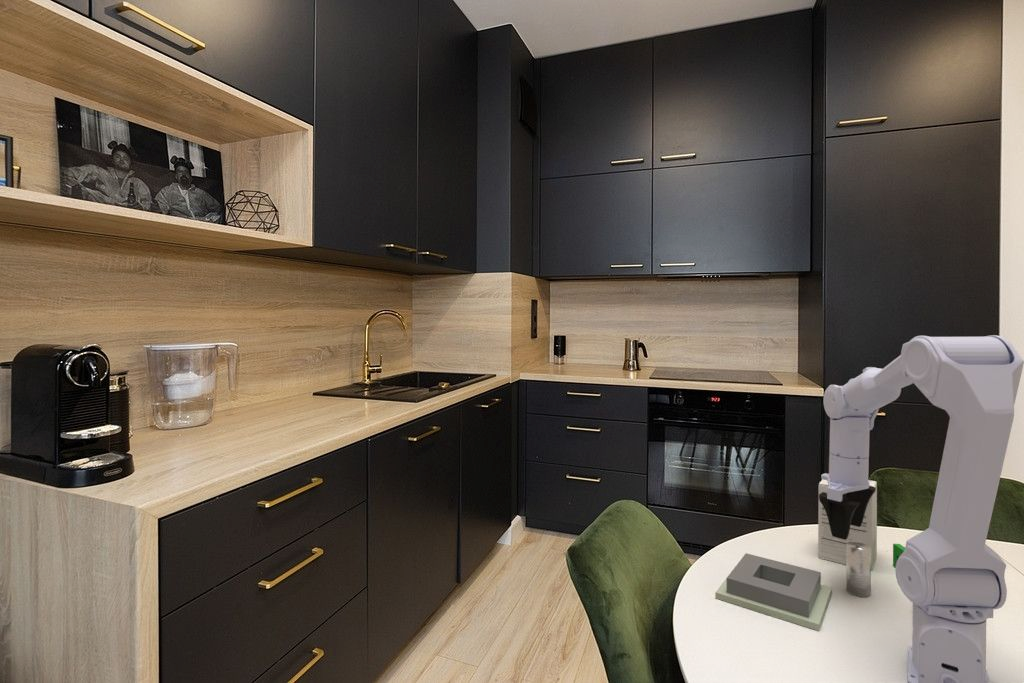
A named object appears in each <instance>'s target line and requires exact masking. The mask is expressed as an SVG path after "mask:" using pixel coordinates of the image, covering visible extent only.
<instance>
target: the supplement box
mask: <svg viewBox="0 0 1024 683" xmlns="http://www.w3.org/2000/svg"><path fill="white" fill-rule="evenodd" d="M868 480H869V479H868ZM869 483H870V486H873V487H875V488H876V491H875V492H874V494H873V495H872V497H871V498H870V500H869V503H868V505H867V508H866V511H865V515H864V518H863V522H862V524H861V526H860V527H857V526H853V525H851V526H850V531H849V535H848V538H847V539H846V540H844V539H840V538H837V537H833V536H832V533H831V530H830V525H829V521H828V517H827V514H826V511H825V509H824V507H823V505H822V503H821V502H820V500H819V499H818V513H817V514H818V515H817V516H818V520H817V521H818V522H817V524H818V528H817V529H818V532H817V534H818V539H817V540H818V541H817V542H818V544H817V545H818V548H817V550H818V553H817V554H818V557H817V558H818V559H821V560H822V559H823V560H826V561H828V562H833V563H838V564H842V565H845V566H846V543H847V542H858V543H863V544H866V545H868V546H870V547H871V572H872V571H873V569H874V565H875V562H876V559H877V555H878V548H877V547H878V542H877V541H878V540H877V539H878V536H877V534H878V529H877V528H878V525H877V524H878V521H877V520H878V503H877V501H878V484H877V483H878V482H877V481H875V480H869ZM828 487H829V485H828V481H827V480H823V479H821V481H819V483H818V495H819V494H821V493H822V492H825V493H827V488H828Z"/></svg>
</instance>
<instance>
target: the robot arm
mask: <svg viewBox="0 0 1024 683" xmlns="http://www.w3.org/2000/svg"><path fill="white" fill-rule="evenodd" d="M1023 368H1024V359H1023V358H1022V356H1021V355H1020V354H1019V352H1018V350H1016V348H1015V346H1013V343H1011V342H1010V340H1008V339H1007V338H1006V337H1003V336H1001V335H995V334H993V335H991V334H990V335H986V336H928V335H917V336H914V337H913V338H911V339H910V340H909V341H907V342H905V343H903V344H902V347H901V351H900V354H899V356H898V357H896V358H894V359H893V360H892V361H891V362H890V363H888V364H887V365H886V366H884V367H883V368H882V367H881V368H879V367H878V368H877V367H875V366H874V367H873V366H868V367H865V368H863V369H862V373H860V374H859V375H858V376H856V377H854V378H850V379H849V380H848V381H847V383H845V384H844V385H837V384H830V385H828V387H827V388H826V389H825V391H824V393H823V408H824V411H825V413H826V415H827V416H828V417H829V452H828V454H829V456H828V460H829V461H828V473H826V472H825V473H822V474H821V476H820V477H821V480H822V479H823V480H827V481H828V485H829V487H828V488H827V493H825V492H822V493H821V494H819V493H818V501H819V500H820V502H821V503H822V505H823V507H824V509H825V511H826V514H827V517H828V521H829V525H830V530H831V533H832V536H833V537H837V538H840V539H844V540H846V539H847V538H848V535H849V531H850V526H851V525H853V526H857V527H860V526H861V524H862V522H863V518H864V515H865V511H866V508H867V505H868V503H869V500H870V498H871V497H872V495H873V494H874V492H875V491H876V488H875V487H873V486H870V483H869V470H870V469H869V467H870V466H869V464H870V462H869V458H870V431H871V430H873V428H874V426H875V419H876V417H877V416H878V412H879V409H881V408H882V407H884V406H886V405H889V404H890V403H892V402H894V401H896V400H897V399H898V398H899V397H900V396H901V392H902V388H905V387H907V386H911V385H913V384H914V385H915V387H917V389H918V390H919V391H920V392H921V393H922V395H923V396H925V398H926V399H928V401H929V402H930V403H931V404H932V405H933V406H935V407H936V408H939V409H941V410H944V411H945V412H946V413H947V415H948V417H949V420H948V427H947V431H946V436H945V437H946V438H945V442H944V447H943V453H942V458H941V462H940V467H939V472H938V473H939V474H938V479H937V485H936V489H935V492H934V493H935V494H934V498H933V503H932V510H931V515H930V520H929V523H928V524H929V525H928V528H927V529H925V530H923V531H921V532H920V533H918V534H915V535H914V536H912V537H911V538H909V539H907V540H906V542H905V546H904V547H905V550H904V552H903V553H902V554H901V555H900V557H899V558H898V561H897V563H896V568H895V577H896V580H897V584H898V586H899V587H900V590H901V592H902V593H903V595H904V596H905V597H906V599H907V600H908V601H910V603H912V634H911V635H912V638H911V639H912V642H911V643H912V644H911V645H909V646H908V656H907V657H908V658H907V659H908V660H907V683H990V679H989V678H990V677H989V673H988V670H987V663H986V662H987V619H994V610H999V609H1001V608H1003V606H1004V605H1005V604H1006V601H1007V595H1008V593H1007V592H1008V590H1007V589H1008V588H1007V584H1006V579H1005V578H1006V577H1005V572H1006V568H1007V563H1005V561H1004V560H1003V559H1002V558H1001V556H1000V555H999V554H998V553H997V552H996V551H995V550H993V548H992V547H990V546H988V544H986V541H987V537H988V533H989V529H990V524H991V520H992V517H993V516H992V515H993V511H994V508H995V502H996V497H997V493H998V489H999V484H1000V481H1001V475H1002V473H1003V472H1002V470H1003V467H1004V462H1005V459H1006V454H1007V450H1008V444H1009V440H1010V436H1011V432H1012V426H1013V423H1014V417H1015V404H1016V399H1017V395H1018V390H1019V386H1020V382H1021V377H1022V372H1023Z"/></svg>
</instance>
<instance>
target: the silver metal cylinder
mask: <svg viewBox="0 0 1024 683" xmlns="http://www.w3.org/2000/svg"><path fill="white" fill-rule="evenodd" d="M845 581H846V582H845V590H846V591H845V592H847V593H848V594H849V595H851V596H853V597H857V598H861V599H863V598H864V599H868V598H870V597H871V596H872V571H871V547H870V546H868V545H866V544H863V543H858V542H847V543H846V565H845Z"/></svg>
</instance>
